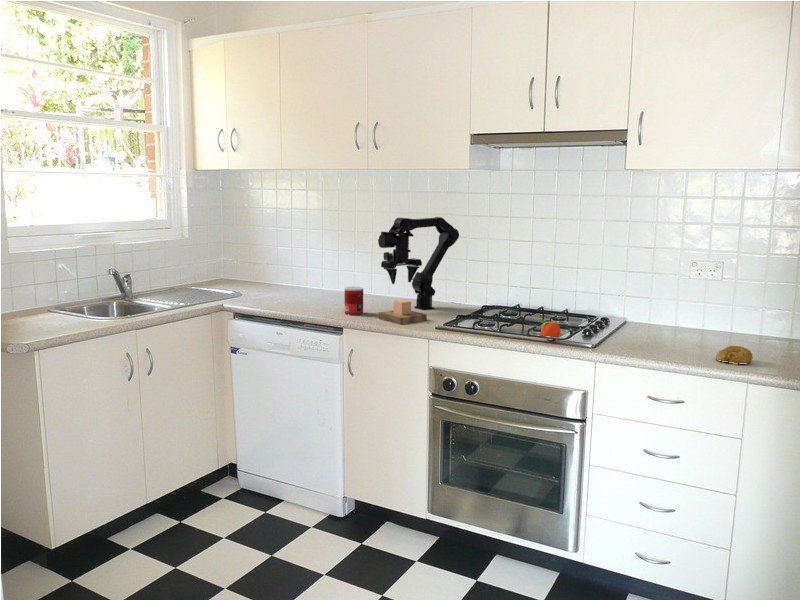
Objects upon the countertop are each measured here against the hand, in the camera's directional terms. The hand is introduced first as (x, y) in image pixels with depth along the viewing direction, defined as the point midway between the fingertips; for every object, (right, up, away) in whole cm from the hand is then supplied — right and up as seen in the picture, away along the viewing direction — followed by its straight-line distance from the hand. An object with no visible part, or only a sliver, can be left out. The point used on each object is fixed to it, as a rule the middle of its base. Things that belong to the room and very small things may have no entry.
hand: (401, 283), depth 289 cm
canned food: (-20, -13, -7) cm, 25 cm away
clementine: (+53, -22, -49) cm, 75 cm away
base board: (0, -15, -17) cm, 23 cm away
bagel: (+107, -28, -73) cm, 133 cm away
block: (0, -13, -17) cm, 21 cm away
